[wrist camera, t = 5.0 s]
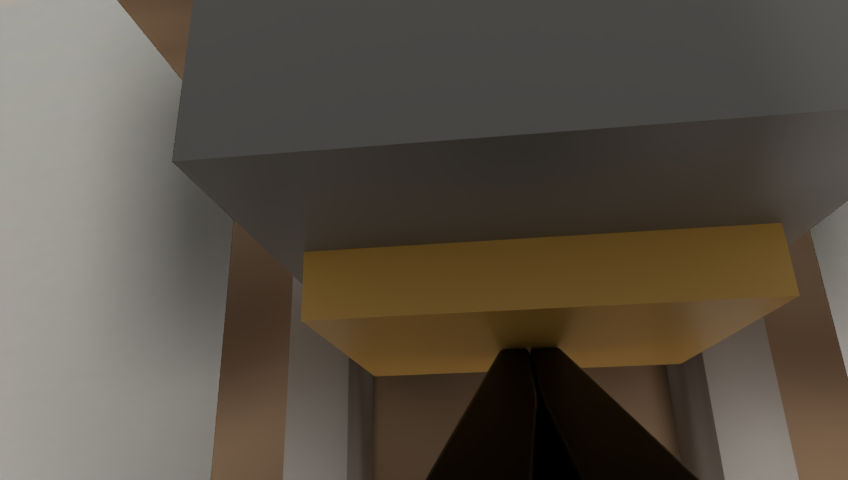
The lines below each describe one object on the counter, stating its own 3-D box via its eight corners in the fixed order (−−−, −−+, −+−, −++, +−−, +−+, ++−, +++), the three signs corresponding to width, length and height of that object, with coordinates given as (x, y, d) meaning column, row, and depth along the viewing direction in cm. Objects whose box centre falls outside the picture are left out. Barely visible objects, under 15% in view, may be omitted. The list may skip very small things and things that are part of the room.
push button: (658, 387, 13) (1018, 202, 4) (384, 397, 14) (159, 255, 5) (626, 186, 15) (836, -269, 6) (383, 202, 16) (217, -188, 6)
